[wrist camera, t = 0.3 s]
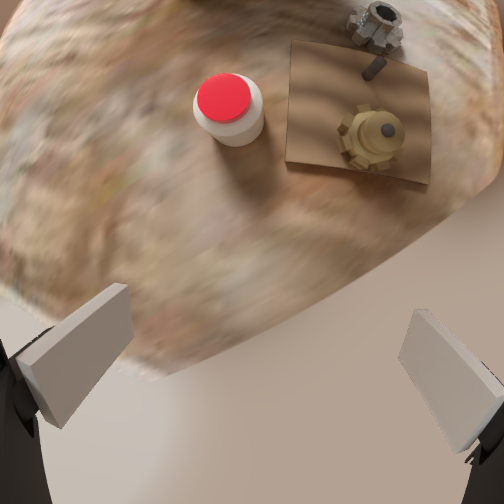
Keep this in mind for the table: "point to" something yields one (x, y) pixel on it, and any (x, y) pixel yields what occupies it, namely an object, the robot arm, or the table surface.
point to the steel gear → (376, 27)
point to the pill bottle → (230, 109)
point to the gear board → (343, 93)
